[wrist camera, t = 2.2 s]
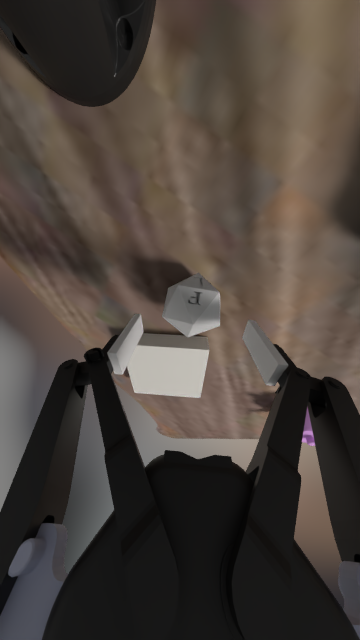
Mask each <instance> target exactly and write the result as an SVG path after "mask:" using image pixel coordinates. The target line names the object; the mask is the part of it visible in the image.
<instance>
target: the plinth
mask: <svg viewBox="0 0 360 640" xmlns="http://www.w3.org/2000/svg"><path fill="white" fill-rule="evenodd" d="M208 355H209V344H208V338H207V337H200V336H190V337H186V336H183V335H167V334H150V333H143V334H142V336H141V338H140V340H139V342H138V344H137V346H136V348H135V350H134V352H133V355H132V357H131V359H130V361H129V363H128V365H127V368H128V372H129V375H130V379H131V382H132V385H133V389H134V392H135V393H145V394H157V395H170V396H182V397H195V398H200V396H201V391H202V386H203V381H204V375H205V370H206V365H207V360H208Z"/></svg>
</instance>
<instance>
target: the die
mask: <svg viewBox="0 0 360 640" xmlns="http://www.w3.org/2000/svg"><path fill="white" fill-rule="evenodd" d="M162 317H163V318H164V319H165V320H167V321H168V322H169V323H170V324H172V325H173V326H174V327H175V328H176V329H178V330H179V331H180V332H181V333H183V334H184V335H185V336H186V337H190V336H193V335H196V334H199V333H201V332H204V331H207V330H210V329H213V328H216V327H218V326H220V293H219V291H218V290H217V289H216V288H214V287H213V286H212V285H211V284H210V283H209V282H208V281H207V280H206V279H205V278H204V277H203V276H202V275H200V274H199V273H197V274H195V275H193V276H191V277H189V278H187V279H185V280H183V281H181V282H179V283H177V284H175V285H173V286H171V287H169V288H168V292H167V296H166V301H165V306H164V310H163V315H162Z"/></svg>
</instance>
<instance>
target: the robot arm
mask: <svg viewBox="0 0 360 640" xmlns="http://www.w3.org/2000/svg"><path fill="white" fill-rule="evenodd" d="M155 4H156V0H0V27H1V28H2V30H3V31H4V33H5V34H6V36H7V37H8V39H9V40H10V42H11V43H12V45H13V46H14V47H15V48H16V50H17V51H18V52H19V54H20V55H21V56H22V58H23V59H24V60H25V61H26V62H27V64H28V65H29V66H30V67H31V68H32V69H33V70H34V71H35V73H36V74H37V75H38V76H39V77H40V78H41V79H42V80H43V81H44V82H45V83H46V84H47V85H48V86H50V87H51V88H52V89H53V90H54V91H55V92H57V93H58V94H59V95H61V96H62V97H64V98H66V99H67V100H69V101H71V102H74V103H76V104H79V105H82V106H89V107H95V106H101V105H105V104H108V103H110V102H111V101H113V100H115V99H116V98H117V97H119V96H120V95H121V94H122V93H123V92H124V91H125V90H126V88H127V87H128V86H129V84H130V83H131V81H132V80H133V78H134V76H135V75H136V73H137V71H138V69H139V66H140V64H141V62H142V59H143V57H144V54H145V51H146V47H147V44H148V40H149V37H150V33H151V28H152V23H153V17H154V11H155ZM142 334H143V325H142V318H141V314H134V316H133V317H132V319H131V320H130V321H129V323H128V324H127V326H126V327H125V328H124V330H123V331H122V333H121V334H120V335H115V336H113V337H112V338H111V339H110V340H109V342H108V343H107V344H106V345H105V347H104V348H103V349H101V348H93V349H90V350H88V351H87V352H86V353H85V354H84V358H85V359H86V362H81V363H78V361H77V360H74V359H72V360H68V361H65V362H64V363H62V364H61V365H60V366H59V368H58V370H57V372H56V375H55V377H54V380H53V382H52V385H51V387H50V390H49V392H48V395H47V397H46V400H45V402H44V405H43V407H42V410H41V412H40V415H39V417H38V420H37V422H36V425H35V427H34V430H33V432H32V435H31V437H30V440H29V442H28V444H27V447H26V450H25V452H24V454H23V457H22V459H21V462H20V464H19V467H18V469H17V472H16V474H15V477H14V479H13V482H12V484H11V487H10V489H9V492H8V494H7V497H6V499H5V502H4V504H3V507H2V509H1V512H0V640H360V415H359V413H358V410H357V408H356V406H355V404H354V402H353V400H352V398H351V396H350V394H349V392H348V390H347V388H346V387H345V385H343V384H342V383H341V382H340V381H338V380H336V379H334V378H331V377H324V378H323V379H322V380H320V379H317V378H313V377H311V376H310V375H309V374H308V373H307V372H306V371H304V370H302V369H300V368H297V367H296V366H295V364H294V363H293V362H292V361H291V359H290V358H289V357H288V356H287V354H286V353H285V352H284V351H283V349H282V348H281V347H279V346H278V345H277V344H272V342H271V341H270V340H269V338H268V337H267V336H266V334H265V333H264V332H263V330H262V329H261V328H260V326H259V325H258V324H257V322H256V321H255V320H248V323H247V325H246V328H245V331H244V334H243V337H242V338H243V340H244V342H245V344H246V346H247V348H248V350H249V352H250V354H251V356H252V358H253V360H254V362H255V364H256V366H257V368H258V370H259V372H260V374H261V376H262V378H263V380H264V382H265V384H266V385H271V386H275V385H276V383H277V382H278V383H279V385H280V386H279V388H278V389H277V391H276V392H275V393H276V396H275V399H274V401H273V404H272V407H271V409H270V412H269V415H268V418H267V420H266V423H265V426H264V428H263V431H262V434H261V436H260V439H259V442H258V445H257V447H256V450H255V453H254V455H253V458H252V460H251V462H250V464H249V466H248V468H247V470H246V472H245V471H244V470H243V469H242V468H241V467H239V466H238V465H237V464H235V463H233V462H232V460H231V457H229V456H219V455H213V456H209V457H206V458H202V459H195V458H193V457H191V456H189V455H187V454H185V453H183V452H179V451H168V450H165V454H164V455H161V456H159V457H157V458H155V459H153V460H152V461H151V462H150V463H149V464H148V465H147V466H146V467H145V466H144V464H143V461H142V458H141V455H140V453H139V450H138V447H137V444H136V442H135V439H134V436H133V433H132V431H131V428H130V425H129V422H128V420H127V416H126V414H125V411H124V408H123V405H122V402H121V400H120V397H119V394H118V392H117V388H116V386H115V383H114V380H113V377H112V375H111V373H112V371H113V370H114V373H115V374H123V373H124V371H125V369H126V367H127V365H128V363H129V361H130V359H131V357H132V355H133V352H134V350H135V348H136V346H137V344H138V342H139V340H140V338H141V336H142ZM89 384H92V388H93V392H94V398H95V403H96V408H97V413H98V417H99V422H100V427H101V432H102V437H103V442H104V447H105V464H106V468H107V474H108V479H109V484H110V490H111V495H112V500H113V505H114V511H113V512H112V514H111V515H110V516H109V518H108V519H107V521H106V522H105V523H104V525H103V526H102V527H101V529H100V530H99V532H98V533H97V534H96V536H95V537H94V538H93V540H92V541H91V542H90V544H89V545H88V547H87V548H86V550H85V551H84V552H83V554H82V555H81V556H80V558H79V559H78V560H77V562H76V563H75V565H74V566H73V568H72V569H71V571H70V572H69V574H67V573H66V571H65V567H64V555H65V549H66V544H67V530H66V528H65V527H64V525H62V522H63V519H64V515H65V512H66V508H67V504H68V499H69V494H70V489H71V482H72V477H73V471H74V465H75V459H76V452H77V446H78V440H79V434H80V428H81V422H82V416H83V410H84V403H85V398H86V392H87V385H89ZM307 406H308V411H309V416H310V421H311V426H312V431H313V436H314V441H315V446H316V451H317V456H318V461H319V466H320V471H321V475H322V481H323V486H324V491H325V495H326V501H327V506H328V511H329V516H330V521H331V525H332V528H333V533H334V537H335V541H336V544H337V547H338V550H339V553H340V556H341V560H342V563H340V566H339V578H338V584H339V588H340V590H341V593H342V595H343V597H344V609H342V607H341V606H340V604H339V603H338V601H337V600H336V598H335V597H334V595H333V594H332V593H331V591H330V590H329V588H328V587H327V586H326V584H325V583H324V581H323V580H322V578H321V577H320V575H319V574H318V573H317V572H316V570H315V568H314V567H313V565H312V564H311V563H310V561H309V560H308V558H307V557H306V556H305V554H304V553H303V551H302V550H301V548H300V547H299V546H298V544H297V543H296V541H295V540H294V532H295V525H296V517H297V510H298V501H299V495H300V487H301V475H300V474H299V473H298V463H299V456H300V450H301V444H302V438H303V431H304V425H305V418H306V412H307Z"/></svg>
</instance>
